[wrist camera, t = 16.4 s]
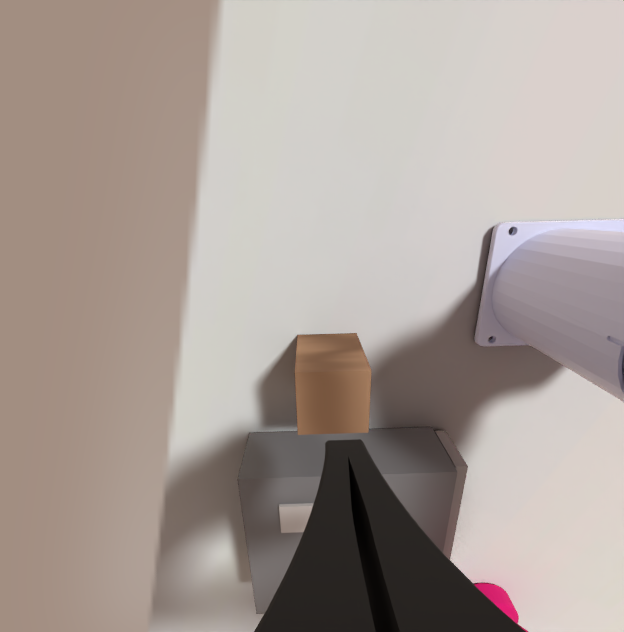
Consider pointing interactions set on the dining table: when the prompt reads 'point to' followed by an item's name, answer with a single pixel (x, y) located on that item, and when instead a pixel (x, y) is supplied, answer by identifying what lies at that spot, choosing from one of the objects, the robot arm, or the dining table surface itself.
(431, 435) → the box
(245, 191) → the dining table surface
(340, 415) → the walnut block
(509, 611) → the pepper mill
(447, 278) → the dining table surface
